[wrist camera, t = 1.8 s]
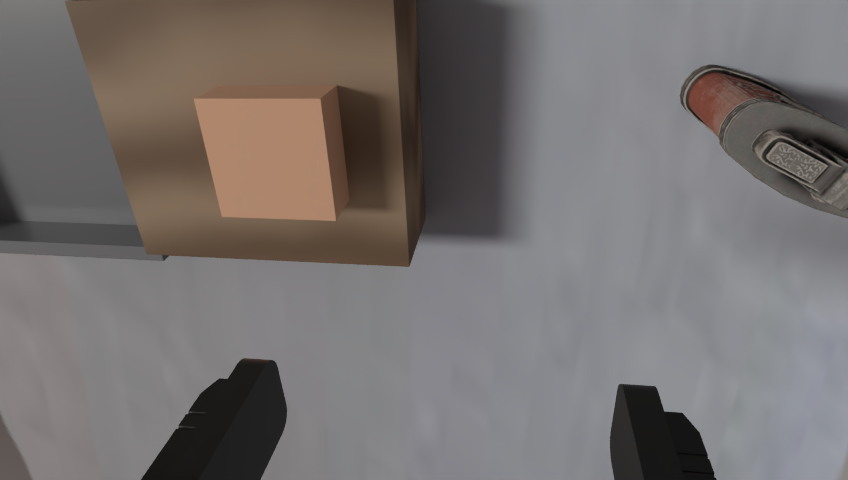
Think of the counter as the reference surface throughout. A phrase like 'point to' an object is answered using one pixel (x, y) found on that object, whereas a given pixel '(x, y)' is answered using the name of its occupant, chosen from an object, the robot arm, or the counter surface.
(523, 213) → the counter surface
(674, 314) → the counter surface
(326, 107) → the tile
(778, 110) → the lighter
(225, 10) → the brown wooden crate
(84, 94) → the tray
